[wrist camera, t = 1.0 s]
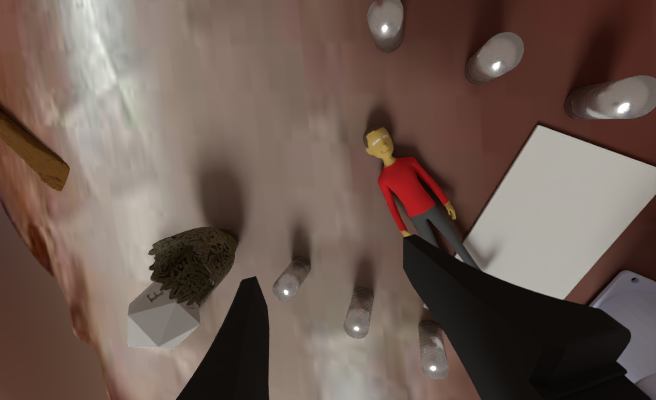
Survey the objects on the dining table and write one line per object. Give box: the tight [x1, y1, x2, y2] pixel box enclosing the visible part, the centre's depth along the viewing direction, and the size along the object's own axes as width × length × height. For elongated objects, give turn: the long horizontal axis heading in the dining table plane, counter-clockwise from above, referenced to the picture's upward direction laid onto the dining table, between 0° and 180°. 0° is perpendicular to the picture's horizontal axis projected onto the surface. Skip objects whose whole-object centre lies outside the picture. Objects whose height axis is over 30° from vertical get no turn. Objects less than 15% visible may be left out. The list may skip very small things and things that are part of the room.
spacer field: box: [273, 0, 656, 379], centre depth 24 cm, size 18×27×5 cm
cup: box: [148, 227, 237, 306], centre depth 30 cm, size 8×7×8 cm
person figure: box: [363, 125, 482, 271], centre depth 24 cm, size 5×4×18 cm
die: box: [128, 282, 200, 350], centre depth 35 cm, size 8×9×10 cm
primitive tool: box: [0, 111, 70, 191], centre depth 37 cm, size 19×6×4 cm, turn 49°
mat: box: [423, 125, 656, 309], centre depth 24 cm, size 10×20×1 cm, turn 160°
